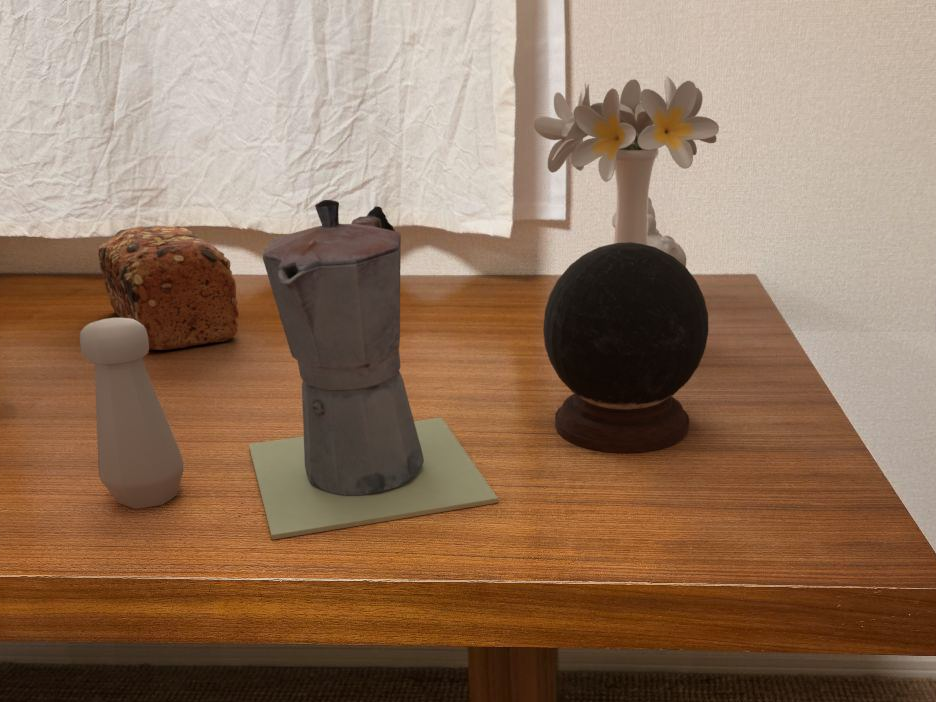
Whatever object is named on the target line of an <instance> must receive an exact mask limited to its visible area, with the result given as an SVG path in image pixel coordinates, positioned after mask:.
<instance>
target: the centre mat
mask: <svg viewBox="0 0 936 702" xmlns="http://www.w3.org/2000/svg"><path fill="white" fill-rule="evenodd" d="M414 423H415V427H416V431H417V435H418V438H419V442H420V445H421V449H422V453H423V458H424V462H423V465H422V468H421V469H420V470H419V471H418V473H417V474H416V475H415V476H414V478H413V479H411V480H410V481H408V482H406V483H403V484H402V485H401V486H398V487H396V488H393V489H390V490H387V491H384V492H379V493H374V494H366V495H340V494H334V493H330V492H326V491H323V490H321V489H319V488H317V487H315V486H314V485H312V484H311V483H310V482H309V480H308V476H307V474H306V469H305V457H304V435H303V436H296V437H289V438H281V439H275V440H265V441H259V442H251V443H248V449H249V453H250V457H251V461H252V465H253V468H254V473H255V477H256V481H257V485H258V489H259V493H260V497H261V501H262V506H263V509H264V513H265V517H266V523H267V525H268V530H269V533H270V538H271V540H273V541H274V540H280V539H287V538H292V537H298V536H305V535H310V534H316V533H322V532H323V533H324V532H328V531H329V532H330V531H335V530H340V529H348V528H353V527H360V526H366V525H372V524H379V523H383V522H390V521H396V520H401V519H407V518H415V517H422V516H426V515H432V514H439V513H444V512H445V513H446V512H452V511H457V510H462V509H470V508H475V507H479V506H481V507H482V506H486V505H493V504H498V503H499V497H498V496H497V495H496V492H494V490H493V488H492V487H491V486H490V485H489V483H488V481H487V480H486V479H485V477H484V476H483V474H482V473H481V471H480V470H479V469H478V467H477V466H476V464H475V462H474V461H473V460H472V458H470V456H469V454H468V453H467V451H466V450H465V448H464V447H463V445H461V443H460V442H459V440H458V438H457V437H456V436H455V434H454V433H453V431H452V430H451V428H450V427H449V426H448V424H447V423H446V422H445V420H444V418H443V417H436V418H435V417H434V418H428V419H420V420H414Z"/></svg>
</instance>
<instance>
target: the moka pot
mask: <svg viewBox="0 0 936 702" xmlns="http://www.w3.org/2000/svg"><path fill="white" fill-rule="evenodd" d="M314 207H315V210H316V213H317V216H318V218H319V222H320V224H321V225H318V226H314V227H310V228H306V229H303V230H299V231H295V232H292V233H288V234H285V235H281V236H278V237H275V238H274V237H273V238H272V239H271V240H270V241H269V243H268V245H267V247H266V248H265V250H264V251H263V253H262V261H263V263H264V267H265V271H266V274H267V277H268V281H269V284H270V288H271V291H272V295H273V298H274V301H275V305H276V309H277V310H278V313H279V319H280V321H281V325H282V328H283V332H284V335H285V339H286V341H287V344H288V349H289V351H290V354H291V357H292V358H293V359H294V360H296V361H297V366H298V371H299V376H300V378H301V380H302V382H301V399H302V402H301V403H302V423H303V424H302V425H303V436H304V457H305V469H306V474H307V476H308V480H309V482H310V483H311V484H312V485H314V486H315V487H317V488H319V489H321V490H323V491H326V492H330V493H334V494H340V495H366V494H374V493H379V492H384V491H387V490H390V489H393V488H396V487H398V486H401V485H402V484H403V483H406V482H408V481H410V480H411V479H413V478H414V476H415V475H416V474H417V473H418V471H419V470H420V469H421V468H422V465H423V462H424V458H423V453H422V449H421V445H420V442H419V438H418V435H417V431H416V427H415V423H414V421H415V420H414V416H413V412H412V408H411V406H410V401H409V397H408V393H407V389H406V385H405V381H404V378H403V375H402V373H401V372H400V369H401V357H400V343H401V263H402V262H401V254H402V253H401V252H402V251H401V250H402V249H401V248H402V247H401V246H402V245H401V241H402V240H401V239H402V238H401V237H402V235H401V233H400V232H399V231H396V230H395V229H394V226H393V225H392V224H391V223H390V222H389V220H388V219H387V215H386V214H385V213H384V211H383V208H382V207H381V206H377V205H375V206H374V207H373V208H372V209H371V210H369V212H368V213H367V215H366V216H364V215H363V216H358V217H357V218H354V219H353V220H352V221H351V223H340V221H339V219H340V217H339V209H340V202H339V201H337V200H332V199H322V200H321V201H319V202H318V203H316V204H315V205H314Z"/></svg>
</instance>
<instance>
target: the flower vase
mask: <svg viewBox="0 0 936 702" xmlns="http://www.w3.org/2000/svg"><path fill="white" fill-rule="evenodd" d="M663 85H664V86H663V87H664V95H665V98H663V96H661V95H660V93H658V92H657V91H655V90H652V89H650V88H644V89H641V84H640V82H639V81H638V80H637V79H636V78H634V79H630V80H628V81H627V82H626V83H625V85H624V87H623V88H622V91H621V94H619V91H618V90H617V89H616V88H613V87H612V88H610V89H608V91H607V92H606V94H605V96H604V98H603V100H602V102H595V103H592V104H591V99H590V84H589V83H587V82H584V83H583V85H582V87H581V89H580V93H579V97H578V100H577V101H578V102H577V106H575V108H574V109H573V112H572V110H571V108H570V106H569V104H568V102H567V100H566V99H565V96H564V95H563V94H562V93H561V92H555V94H554V96H553V110H554V112H555V115H556V116H557V118H555V117H550V116H539V117H536V118H535V119H534V120H533V128H534V130H535V131H536V133H538V134H539V135H540V136H541V137H543V138H545V139H547V140H549V141H557V142H556V143H555V142H554V144H553V146H552V147H551V149H550V151H549V153H548V157H547V169H548V171H549V172H550V173H556V172H558V171H559V170H560V169H561V167H562V166H563V165H564V164H565V163H566V161H567V159H568V157H569V156H570V164H571V166H572V167H573V168H575V169H576V170H577V171H579V172H581V171H583V169H584V168H585V166H587V165H589V164H591V163H592V162H594V161H596V160H597V159H598V158H599V159H598V172H599V176H600V178H601V180H602V181H603V182H605V183H607V182H610V181H611V180H612V179H613V176H614V174H615V183H616V210H615V213H616V224H615V228H614V239H613V244H615V243H626V242H632V243H638V244H644V245H648V243H647V213H648V197H649V190H650V184H651V179H652V173H653V168H654V164H655V162H656V159H657V157H658V155H659V149H660V148H662V147H664V146H665V147H666V148H667V150H668V151H669V154H670V156H671V158H672V159H673V161H674V163H676V165H677V166H678V167H680V168H681V169H689V168H690V167H691V166H692V164H693V162H694V156H696V155H697V152H698V147H697V144H696V142H695V141H700V142H704V143H707V144H715V143H717V135H718V133H719V132H720V125H719V124H718V123H717V121H715V120H714V119H712V118H709V117H707V116H702V115H700V116H699V115H698V114H699V112H700V110H701V108H702V105H703V93H702V91H701V89H700V88H698V87H696V84H695V83H694V82H693V81H691V80H686V81H684V82H683V83H682V82H681V84H680V85H679V86H678V87H677V86H676V85H675V82H673V80H672V78H670V77H669V76H666V77H665V78H664V84H663ZM588 136H589V137H592V138H587V137H588ZM585 138H587V139H585Z"/></svg>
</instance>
